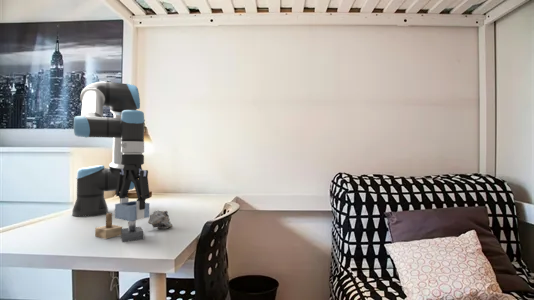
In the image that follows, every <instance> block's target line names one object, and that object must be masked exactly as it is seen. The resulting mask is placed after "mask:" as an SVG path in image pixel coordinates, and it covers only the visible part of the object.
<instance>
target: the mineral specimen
mask: <svg viewBox="0 0 534 300" xmlns="http://www.w3.org/2000/svg"><path fill="white" fill-rule="evenodd" d="M147 222H148V224H149V225H152V227H153V229H154V228H157V230H159V229H162V230H163V229H164V230H165V229H169V228H172V227H173V224H172V223H171V221H170V216H169V213H168V211H167V210H159V209H158V210H154V211H153V212H152V213H151V214H149V219H148V221H147Z"/></svg>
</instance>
